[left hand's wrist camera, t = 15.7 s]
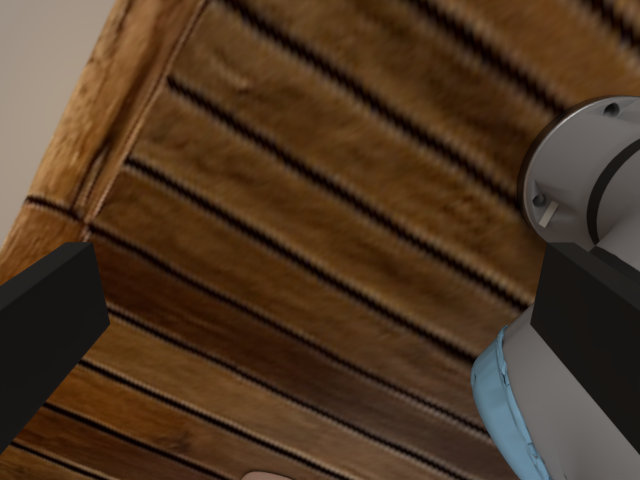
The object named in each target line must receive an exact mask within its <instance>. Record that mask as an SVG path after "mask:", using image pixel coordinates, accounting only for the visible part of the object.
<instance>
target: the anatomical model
mask: <svg viewBox="0 0 640 480" xmlns="http://www.w3.org/2000/svg"><path fill="white" fill-rule="evenodd" d="M241 480H292V479H289V478H286V477H283V476H280V475H276V474H271V473H266V472H250V473H248V474H246V475H245V476H244V477H243V478H242V479H241Z"/></svg>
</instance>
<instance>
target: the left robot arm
mask: <svg viewBox="0 0 640 480" xmlns="http://www.w3.org/2000/svg"><path fill="white" fill-rule="evenodd" d="M517 190H518V201H519V206H520V210H521V212H522V215H523V217H524V219H525V221H526V222H527V224H528V225H529V227H530V228H531V229H532V230H533V231H534V232H535V233H536V234H537V235H538V236H540V237H541V238H542V239H544V240H545V241H546V242H547V246H546V251H545V256H544V260H543V265H542V270H541V274H540V279H539V284H538V288H537V293H536V298H535V302H534V303H533V304H532V305H531V306H530V307H528V308H527V309H526V310H525V311H524V312H523V313H522V314H521V315H520V316H519V317H518V318H517V319H516V320H515V321H513V322H512V323H511V324H510V325H509V326H508V325H506V326H504V327H503V328H502V329H501V330H500V331H499V333H498V337H497V338H496V339H495V340H494V341H493V342H492V343H491V344H490V345H489V346H488V347H487V348H486V349H485V350H484V351H483V352H482V353H481V355H480V356H479V357H478V358H477V359H476V361H475V362H474V364H473V367H472V370H471V386H472V390H473V391H472V392H473V397H474V401H475V404H476V407H477V409H478V412H479V414H480V416H481V419H482V421H483V423H484V425H485V427H486V429H487V431H488V433H489V434H490V436H491V438H492V440H493V441H494V443H495V445H496V446H497V448H498V449H499V451H500V452H501V454H502V455H503V457H504V458H505V460H506V461H507V463H508V464H509V466H510V467H511V468H512V470H513V471H514V472H515V474H516V475H517V476H518V477H519V478H520V480H640V97H638V96H626V95H608V96H601V97H596V98H593V99H589V100H586V101H584V102H581V103H579V104H577V105H575V106H573V107H571V108H569V109H567V110H566V111H564V112H563V113H561V114H560V115H559V116H557V117H556V118H555V119H554V120H552V121H551V122H550V123H549V124H548V125H547V126H546V127H545V128H544V129H543V130H542V131H541V132H540V134H539V135H538V136H537V137H536V139H535V140H534V142H533V143H532V145H531V146H530V148H529V150H528V152H527V154H526V156H525V158H524V160H523V163H522V166H521V169H520V173H519V178H518V189H517ZM109 325H110V321H109V316H108V312H107V307H106V302H105V298H104V293H103V288H102V284H101V279H100V274H99V270H98V265H97V260H96V256H95V251H94V246H93V242H66V243H64V244H63V245H61V246H60V247H58V248H57V249H55V250H54V251H52V252H51V253H49V254H48V255H46V256H45V257H43V258H42V259H40V260H39V261H37V262H36V263H34V264H33V265H31V266H30V267H28V268H27V269H25V270H24V271H22V272H21V273H19V274H18V275H16V276H15V277H13V278H12V279H10V280H9V281H7V282H6V283H4V284H3V285H1V286H0V455H1V454H2V453H3V451H4V450H5V449H6V448H7V447H8V445H9V444H10V443H11V442H12V441H13V439H14V438H15V437H16V436H17V435H18V433H19V432H20V431H21V430H22V429H23V428H24V426H25V425H26V424H27V423H28V422H29V420H30V419H31V418H32V417H33V416H34V414H35V413H36V412H37V411H38V410H39V408H40V407H41V406H42V405H43V404H44V402H45V401H46V400H47V399H48V398H49V397H50V395H51V394H52V393H53V392H54V391H55V389H56V388H57V387H58V386H59V385H60V383H61V382H62V381H63V380H64V379H65V377H66V376H67V375H68V374H69V373H70V371H71V370H72V369H73V368H74V367H75V365H76V364H77V363H78V362H79V361H80V360H81V358H82V357H83V356H84V355H85V354H86V352H87V351H88V350H89V349H90V348H91V346H92V345H93V344H94V343H95V342H96V340H97V339H98V338H99V337H100V336H101V334H102V333H103V332H104V331H105V330H106V329H107V327H108V326H109Z"/></svg>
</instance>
